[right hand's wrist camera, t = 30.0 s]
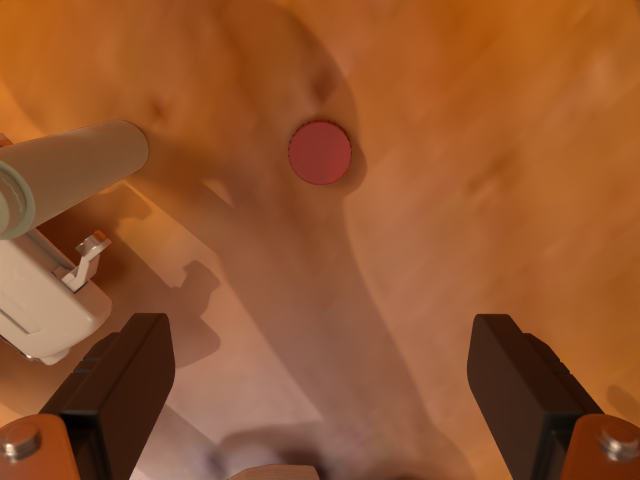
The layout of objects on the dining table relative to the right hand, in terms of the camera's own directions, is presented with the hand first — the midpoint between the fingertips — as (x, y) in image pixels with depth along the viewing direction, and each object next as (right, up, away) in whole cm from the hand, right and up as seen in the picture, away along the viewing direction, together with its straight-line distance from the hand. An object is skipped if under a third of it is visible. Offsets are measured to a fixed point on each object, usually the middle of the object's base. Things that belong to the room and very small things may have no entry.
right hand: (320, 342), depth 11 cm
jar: (-17, +11, +27) cm, 34 cm away
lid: (0, +10, +26) cm, 28 cm away
